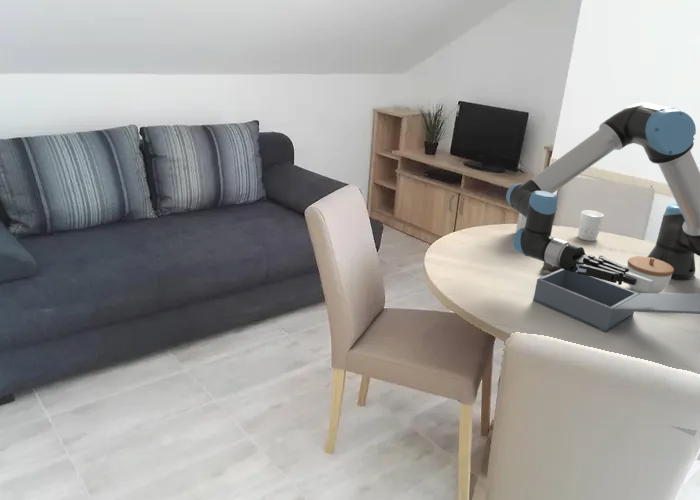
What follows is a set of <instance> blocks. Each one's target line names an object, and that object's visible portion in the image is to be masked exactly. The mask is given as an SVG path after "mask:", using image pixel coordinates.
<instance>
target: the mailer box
mask: <svg viewBox="0 0 700 500" xmlns="http://www.w3.org/2000/svg"><path fill="white" fill-rule="evenodd" d="M534 290H535V291H534V294H533V299H532V301H533V302H535V303H537V304H539V305H542V306H543V307H547V308H548V309H551V310H553V311H555V312H558V313H561V315H565V316H567V317H570V318H572V319H574V320H576V321H578V322H581V323H583V324H585V325H587V326H590V327H592V328H595V329H597V330H599V331H601V332H603V333H608V332H609V331H610V330H613V329H614V328H616V327H617V326H619V325H620V324H622V323H623V322H625V321H627V320H629V319H631V318H632V317H633V316H634V314H635V312H631V311H614V308H616V307H617V306H619V305H621V304H623V303H624V302H626V301H628V300H630V299H632V298H633V297H635V296H637V295H639V293H636V292H634V291H632V290H631V289H628V288H625V287H622V286H621V285H618V284H617V285H616V283H613V282H609V281H605V280H601V279H598V278H594V277H591V276H587V275H581V274H578V273H577V271H576V272H570V271H567V270H564V269H560V270H557V271H555V272H553V273H550V274H548V275H543V276H541V277H539V278H537V280H536V284H535V289H534Z"/></svg>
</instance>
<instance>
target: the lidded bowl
mask: <svg viewBox="0 0 700 500" xmlns="http://www.w3.org/2000/svg"><path fill="white" fill-rule="evenodd" d="M626 267H627V268H629V272H631V273H634V274H636V275H639V276H642V277H645V278H648V279H651V280H653V283H652V287H651V290H650V291H646V290H643V289H640V288H637V287H635V286H632V285H629V284H628V286H629V288H630V290H631V291H634V292H636V293H639V294H640V293H662V292H663V291H664V290H665V289H666V288H667V287H668V286H669V283H670V281H671V280H672V279H671V276H672V274H673V271H674V268H673V267H672V266H671V265H670V264H668V263H666V262H664V261H661V260H658V259H655V258H650V257H648V256H643V255H642V256H639V255H638V256H636V255H635V256H631V257H629V258H628V260H627V266H626Z"/></svg>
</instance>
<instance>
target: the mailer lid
mask: <svg viewBox="0 0 700 500" xmlns="http://www.w3.org/2000/svg"><path fill="white" fill-rule="evenodd" d="M614 311H631V312H634V313H636V312H637V313H638V312H639V313H657V314H658V313H662V314H663V313H666V314H686V315H689V314H692V315H700V293H667V292H666V293H665V292H664V293H662V292H660V293H640V294H639V295H637V296H635V297H633V298H632V299H630V300H628V301H626V302H624V303H623V304H621V305H619V306H617V307H616V308H614Z"/></svg>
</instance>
